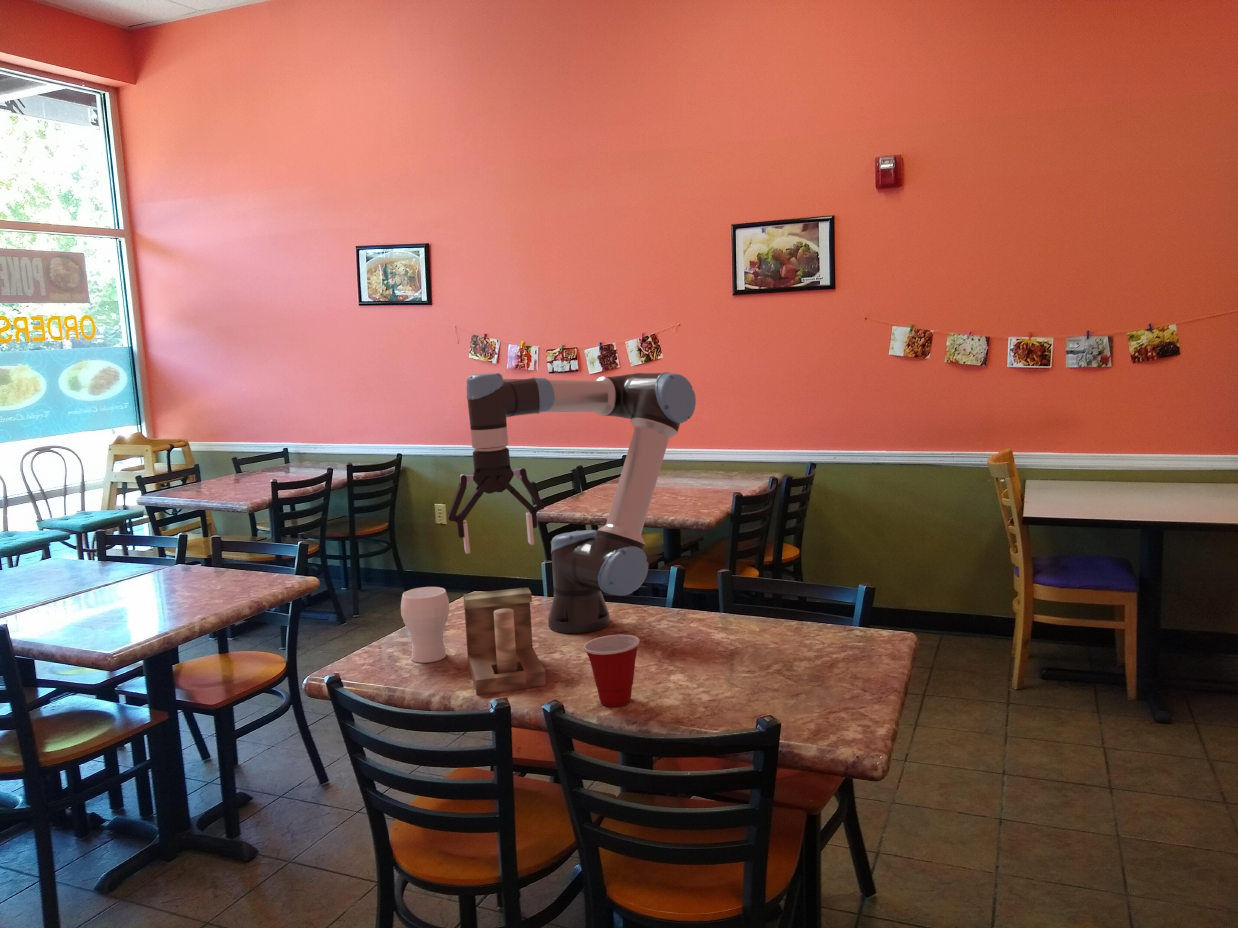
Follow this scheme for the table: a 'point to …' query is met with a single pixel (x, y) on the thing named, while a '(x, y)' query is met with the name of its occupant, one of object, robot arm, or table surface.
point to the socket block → (484, 643)
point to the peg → (505, 640)
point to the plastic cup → (613, 667)
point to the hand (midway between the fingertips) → (499, 547)
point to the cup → (426, 622)
